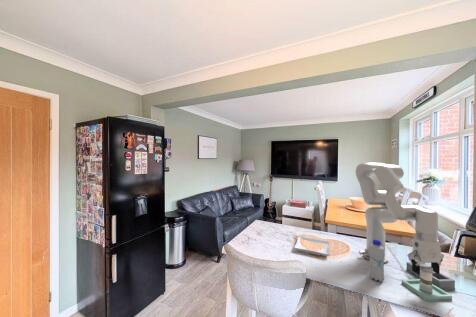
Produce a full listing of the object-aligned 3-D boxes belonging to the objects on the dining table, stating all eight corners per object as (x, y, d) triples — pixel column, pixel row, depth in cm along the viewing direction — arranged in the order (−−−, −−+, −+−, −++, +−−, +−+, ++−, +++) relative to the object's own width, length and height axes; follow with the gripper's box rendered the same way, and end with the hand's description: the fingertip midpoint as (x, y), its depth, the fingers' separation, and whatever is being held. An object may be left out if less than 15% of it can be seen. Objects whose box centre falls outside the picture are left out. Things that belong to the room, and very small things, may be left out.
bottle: (365, 275, 103) (365, 237, 103) (377, 274, 103) (377, 237, 103) (375, 283, 96) (376, 243, 96) (388, 282, 96) (388, 242, 96)
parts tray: (426, 301, 84) (426, 296, 84) (401, 283, 96) (401, 279, 96) (452, 299, 85) (452, 295, 85) (424, 282, 97) (424, 278, 97)
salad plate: (298, 240, 146) (298, 235, 146) (329, 246, 137) (329, 241, 137) (293, 252, 127) (294, 247, 127) (329, 260, 118) (329, 254, 118)
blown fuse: (426, 293, 88) (426, 269, 88) (416, 287, 92) (417, 264, 92) (435, 293, 88) (435, 269, 88) (425, 286, 93) (425, 264, 93)
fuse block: (454, 288, 92) (455, 280, 92) (439, 289, 92) (439, 281, 92) (419, 269, 109) (420, 261, 109) (406, 269, 108) (406, 262, 108)
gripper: (416, 239, 86) (416, 277, 86) (452, 239, 88) (451, 276, 88) (401, 233, 94) (401, 268, 94) (434, 232, 95) (433, 267, 95)
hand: (425, 272), depth 91 cm, fingers open, 9 cm apart
